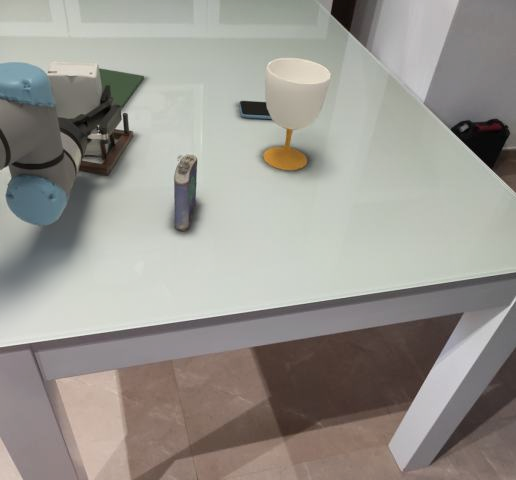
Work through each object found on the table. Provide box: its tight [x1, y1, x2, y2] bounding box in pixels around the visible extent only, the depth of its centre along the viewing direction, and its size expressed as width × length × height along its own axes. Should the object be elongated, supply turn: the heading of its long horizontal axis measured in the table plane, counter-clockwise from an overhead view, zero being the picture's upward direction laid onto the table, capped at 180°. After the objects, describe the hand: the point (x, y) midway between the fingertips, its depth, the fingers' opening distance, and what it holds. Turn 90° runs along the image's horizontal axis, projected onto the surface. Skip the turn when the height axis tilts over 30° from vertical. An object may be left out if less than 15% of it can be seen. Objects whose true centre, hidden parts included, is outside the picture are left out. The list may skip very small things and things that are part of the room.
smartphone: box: [238, 100, 272, 120], centre depth 117 cm, size 7×1×15 cm
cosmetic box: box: [46, 60, 110, 157], centre depth 93 cm, size 8×6×15 cm
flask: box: [173, 154, 198, 232], centre depth 84 cm, size 9×3×11 cm, turn 174°
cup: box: [262, 57, 332, 171], centre depth 98 cm, size 12×12×17 cm
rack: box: [78, 112, 134, 177], centre depth 97 cm, size 16×14×5 cm
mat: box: [99, 67, 145, 110], centre depth 116 cm, size 18×18×1 cm
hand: (83, 90), depth 95 cm, fingers closed on cosmetic box, 8 cm apart
